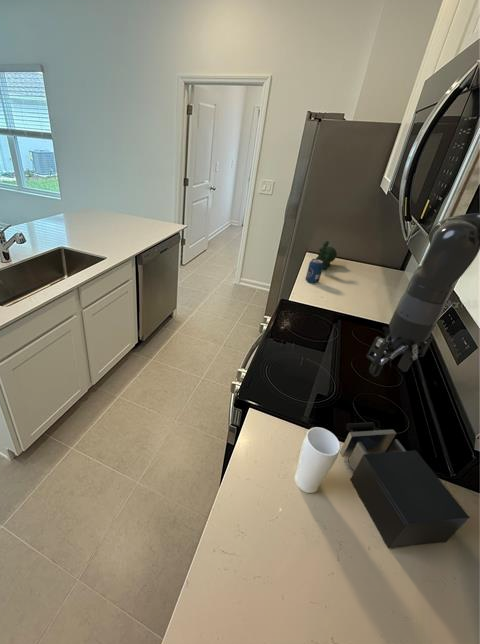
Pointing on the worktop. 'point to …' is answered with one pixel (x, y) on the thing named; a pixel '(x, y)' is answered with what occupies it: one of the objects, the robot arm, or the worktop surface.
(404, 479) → the cabinet
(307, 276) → the soda can
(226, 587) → the worktop surface
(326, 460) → the drinking glass
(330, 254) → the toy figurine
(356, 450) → the drawer
